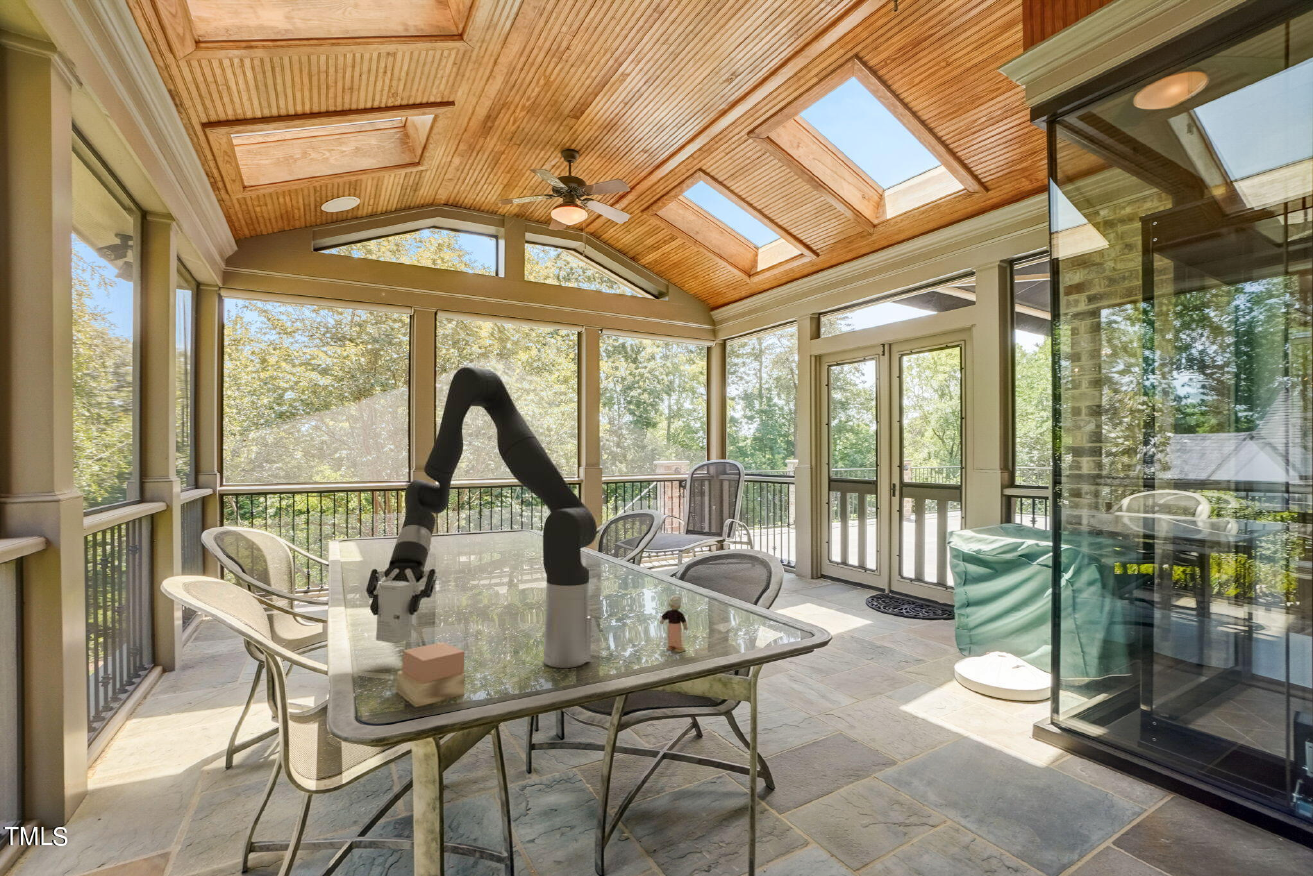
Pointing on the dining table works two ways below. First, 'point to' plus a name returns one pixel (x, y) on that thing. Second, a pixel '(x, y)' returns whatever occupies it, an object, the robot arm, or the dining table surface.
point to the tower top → (433, 662)
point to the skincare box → (394, 611)
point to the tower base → (429, 689)
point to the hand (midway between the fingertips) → (393, 613)
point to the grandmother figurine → (674, 624)
